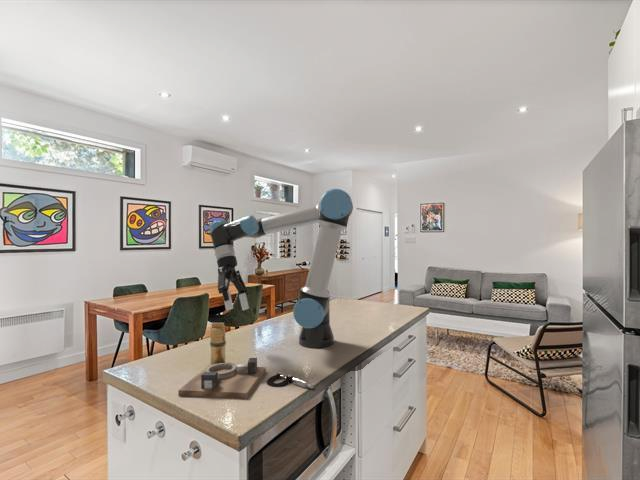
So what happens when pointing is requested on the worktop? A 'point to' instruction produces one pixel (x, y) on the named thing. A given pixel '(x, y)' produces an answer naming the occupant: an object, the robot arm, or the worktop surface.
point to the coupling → (217, 343)
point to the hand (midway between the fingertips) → (238, 309)
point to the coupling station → (225, 380)
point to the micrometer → (288, 381)
